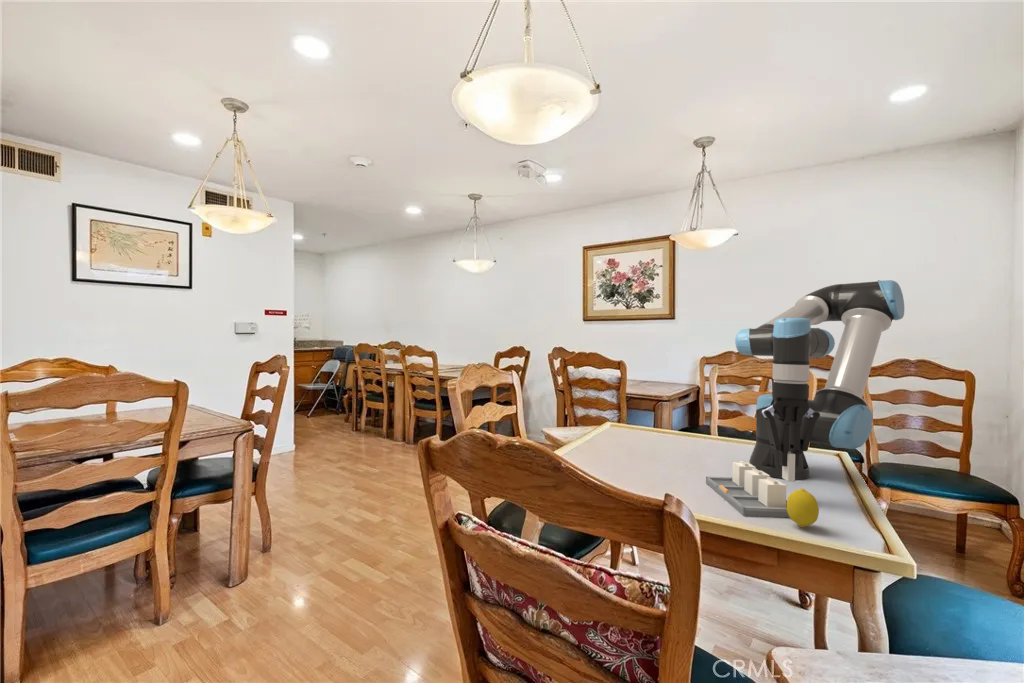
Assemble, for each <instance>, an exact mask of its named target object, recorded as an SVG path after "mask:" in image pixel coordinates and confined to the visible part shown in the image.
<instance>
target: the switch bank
mask: <svg viewBox="0 0 1024 683" xmlns="http://www.w3.org/2000/svg"><path fill="white" fill-rule="evenodd" d="M705 484H706V485H707V486H709V488H710V489H712V490H713V491H714V492H715V493H716V494H718V495H719V496H720V497H721V498H722V499H724V500H725V501H726V502H727V503H728V504H729V505H730V506H732V508H734V509H735V510H736V511H737V512H738V513H739V514H740V515H741V516H743V517H762V518H763V517H764V518H765V517H766V518H786V517H787V518H788V519H789V518H790V517H789V515H788V512H787V500H788V499H786V508H784V507H766V506H765V505H764V504H762V503H761V502H760V501H758V496H752V495H750V494H749V493H748V492H746V491H745V490H744V486H738V485H737V484H736V483H734V482H733V481H732V476H731V477H729V476H705ZM790 519H791V518H790Z"/></svg>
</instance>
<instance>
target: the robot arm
mask: <svg viewBox="0 0 1024 683" xmlns="http://www.w3.org/2000/svg"><path fill="white" fill-rule="evenodd" d="M903 295H904V294H903V291H902V289H901V286H900V284H899V283H898V282H897V281H895V280H892V279H889V280H888V279H887V280H880V279H879V280H877V281H865V282H853V283H849V282H848V283H838V284H832V285H831V284H830V285H828V286H825V287H822V288H819V289H818V290H817V289H816V290H814V291H812V292H810V293H807V294H806V295H804V296H803V297H800V298H799V299H798V300H797V301H796V303H795V305H794V306H792V307H789V309H787V310H786V311H783V312H782V313H780V314H779V315H777V316H775V317H773V318H772V319H770V320H769V321H767V322H765V323H763V324H761V325H759V326H758V327H756V328H751V327H749V328H743V329H739V331H738V332H737V334H736V336H735V343H734V344H735V348H736V350H737V352H738V353H739V354H740V355H744V356H752V357H754V356H756V357H760V356H761V357H772V379H773V380H774V381H773V382H772V384H771V393H768V394H767V393H766V394H761V395H760V396H758V397H757V399H756V408H755V411H756V412H755V413H756V415H755V417H756V420H755V421H756V422H755V423H756V424H755V425H756V427H755V430H756V431H755V433H756V434H755V445H754V448H753V451H752V452H751V456H750V458H749V462H748V463H750V464H751V465H753V466H755V467H756V469H757V470H759V471H763V472H765V473H766V474H768V475H770V477H771V478H777V479H784V480H785V481H787V482H793V483H794V482H795V481H796V480H804V479H808V478H810V467H809V464H808V461H807V459H806V455H805V452H807V451H808V450H809V447H810V443H814V444H818V445H824V446H829V447H834V448H837V449H839V448H840V449H841V448H842V449H849V450H855V449H858V448H861V447H863V445H864V444H866V442H867V440H868V439H869V437H870V434H871V433H872V429H873V425H872V424H873V422H874V417H873V412H872V410H871V409H870V407H869V406H868V403H867V401H866V400H865V399H864V398H863V397H864V393H865V390H866V387H867V382H868V380H869V377H870V376H869V375H870V372H871V370H872V366H873V363H874V359H875V355H876V353H877V350H878V345H879V342H880V339H881V336H882V334H883V332H884V331H886V330H888V329H890V327H891V326H892V322H893V321H899V320H902V319H903V318H904V316H905V301H904V296H903ZM824 322H841V323H843V325H844V329H843V332H842V334H841V337H840V340H839V342H838V347H837V349H836V352H835V355H834V358H833V361H832V363H831V367H830V370H829V373H828V376H827V380H826V383H825V386H824V388H820V389H818V390H817V391H816V392H815V394H814V397H813V399H809V398H810V385H809V384H808V383H807V382H809V381H810V358H811V359H813V358H814V359H819V358H822V357H823V358H824V357H826V356H827V355H830V354H831V353H832V352H833V350H834V349H835V344H836V342H835V337H834V336H833V335H832V334H831V332H829V331H828V330H826V329H823V328H820V327H811V326H817V325H820V324H822V323H824Z"/></svg>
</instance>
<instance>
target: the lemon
mask: <svg viewBox="0 0 1024 683" xmlns="http://www.w3.org/2000/svg"><path fill="white" fill-rule="evenodd" d="M786 500H787V512H788V515H789V517H790V519H791V520H792V521H793V522H794V523H795V524H797V525H798V526H799V528H805V527H808V526H811V525H813V524H815V523H816V522H817V520H818V519H819V513H820V512H819V511H820V509H819V508H820V507H819V503H818V500H817V498H816V497H815V496H814V495H813V494H812V493H811V492H809V491H807V490H806V489H805V488H800V489H795V490H794V491H792V492H791V493H790V494H789V495H788V497H787V499H786Z"/></svg>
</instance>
